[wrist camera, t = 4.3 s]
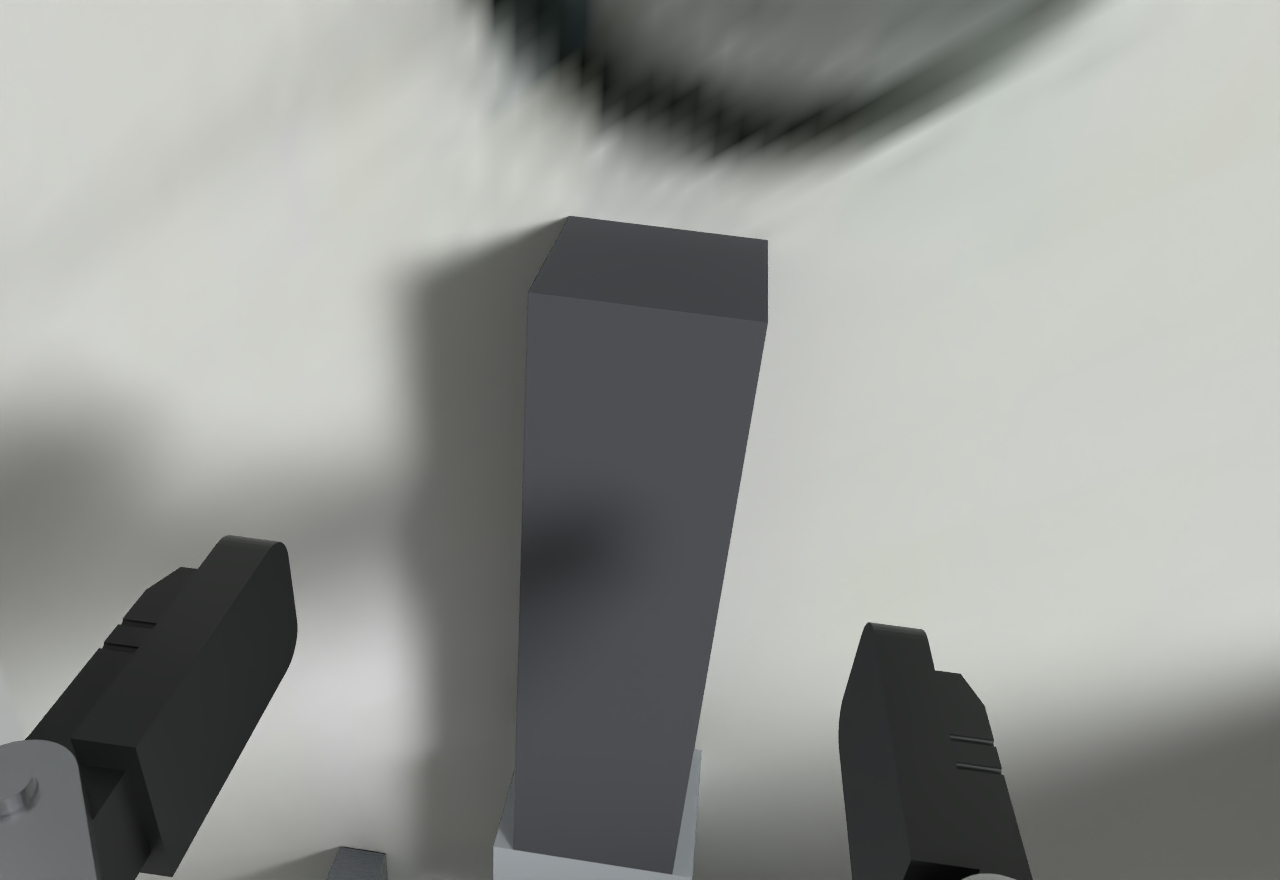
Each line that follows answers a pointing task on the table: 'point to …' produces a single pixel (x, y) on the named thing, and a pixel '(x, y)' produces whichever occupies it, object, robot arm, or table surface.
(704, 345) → the grey two-tone block
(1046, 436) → the table surface
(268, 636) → the robot arm
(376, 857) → the u-shaped bracket
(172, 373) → the table surface
